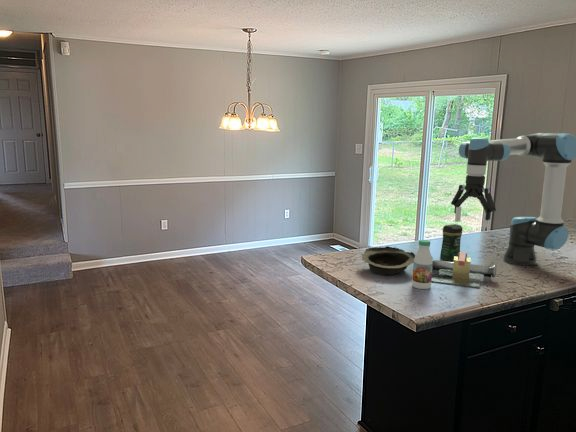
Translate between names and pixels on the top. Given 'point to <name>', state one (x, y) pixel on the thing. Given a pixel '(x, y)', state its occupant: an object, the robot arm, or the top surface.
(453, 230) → the coffee jar
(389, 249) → the stone bowl
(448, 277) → the pipe run
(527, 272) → the top surface
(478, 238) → the top surface
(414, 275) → the milk bottle
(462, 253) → the lever
